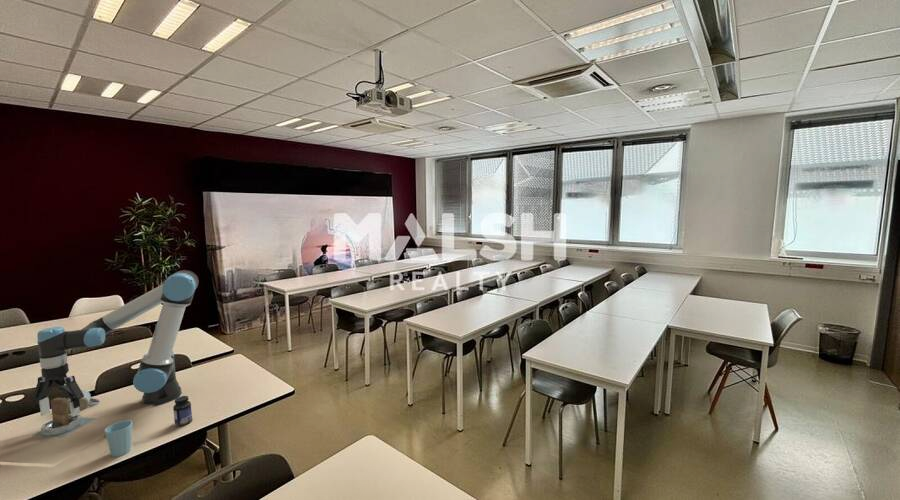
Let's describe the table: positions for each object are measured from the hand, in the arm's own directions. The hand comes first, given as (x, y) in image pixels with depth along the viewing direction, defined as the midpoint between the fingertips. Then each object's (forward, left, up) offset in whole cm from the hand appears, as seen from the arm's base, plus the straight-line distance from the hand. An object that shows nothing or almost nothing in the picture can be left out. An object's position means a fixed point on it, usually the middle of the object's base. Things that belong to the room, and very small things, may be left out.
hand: (60, 414), depth 152 cm
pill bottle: (-47, -8, -7) cm, 48 cm away
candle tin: (0, 0, -6) cm, 6 cm away
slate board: (0, -1, -7) cm, 7 cm away
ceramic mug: (+10, -17, -7) cm, 21 cm away
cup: (-39, +12, -7) cm, 41 cm away
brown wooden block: (0, 0, -5) cm, 5 cm away
